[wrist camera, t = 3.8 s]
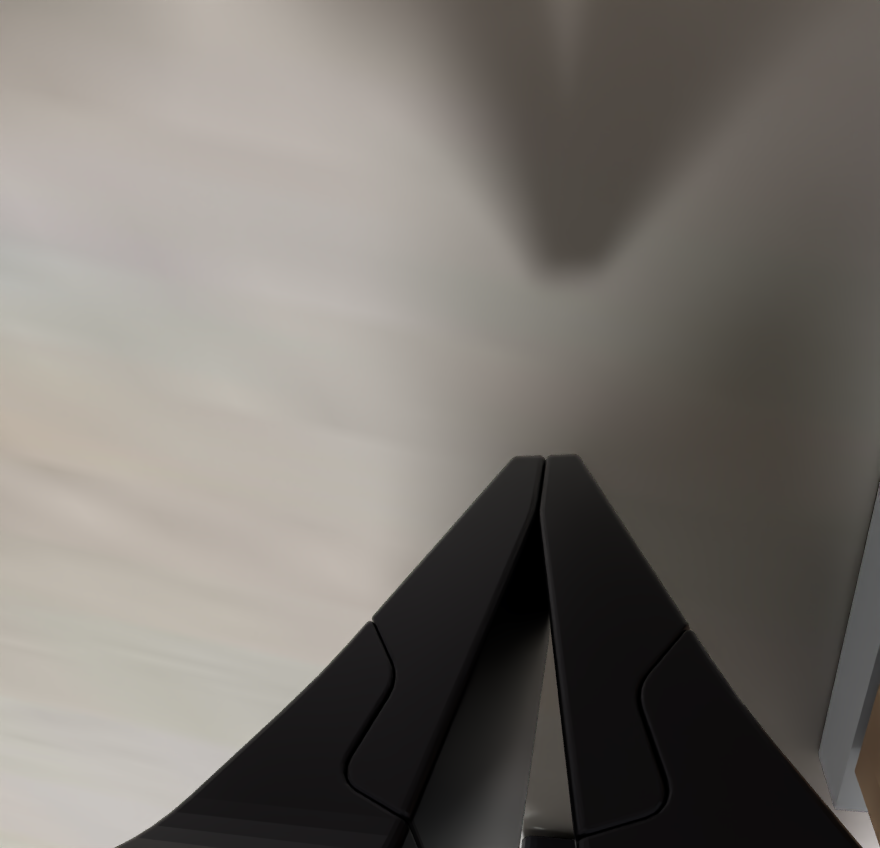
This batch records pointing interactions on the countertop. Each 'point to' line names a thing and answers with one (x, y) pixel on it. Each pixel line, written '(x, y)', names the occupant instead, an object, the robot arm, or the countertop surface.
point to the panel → (871, 766)
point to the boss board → (855, 681)
